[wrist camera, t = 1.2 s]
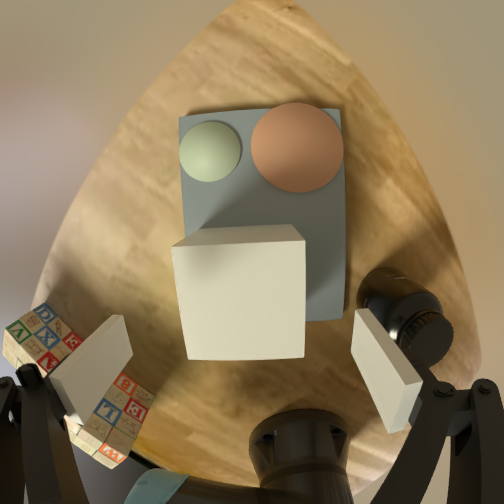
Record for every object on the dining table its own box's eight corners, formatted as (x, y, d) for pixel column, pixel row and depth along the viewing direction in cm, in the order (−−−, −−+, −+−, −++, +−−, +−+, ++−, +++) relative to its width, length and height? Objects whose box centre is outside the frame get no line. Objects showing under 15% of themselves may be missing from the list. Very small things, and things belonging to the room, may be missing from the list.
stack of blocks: (36, 327, 33) (-12, 363, 21) (45, 301, 32) (-11, 336, 20) (139, 414, 35) (111, 471, 23) (156, 396, 34) (127, 459, 22)
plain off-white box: (293, 310, 29) (303, 357, 20) (208, 312, 29) (188, 359, 21) (291, 223, 27) (305, 240, 18) (199, 228, 27) (170, 247, 19)
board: (339, 314, 30) (352, 336, 25) (198, 320, 31) (187, 343, 26) (335, 107, 25) (350, 92, 20) (181, 115, 26) (165, 101, 21)
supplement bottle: (400, 256, 28) (462, 292, 17) (410, 306, 30) (463, 356, 18) (347, 279, 29) (391, 331, 18) (361, 329, 31) (400, 392, 19)
